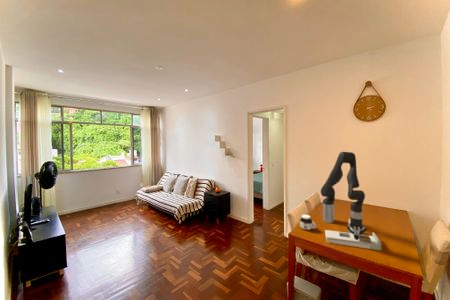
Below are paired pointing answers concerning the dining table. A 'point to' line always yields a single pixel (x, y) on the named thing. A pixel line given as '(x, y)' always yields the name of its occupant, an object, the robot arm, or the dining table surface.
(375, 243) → the two-hole white board
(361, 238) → the walnut block
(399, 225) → the dining table surface
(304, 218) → the spread jar
